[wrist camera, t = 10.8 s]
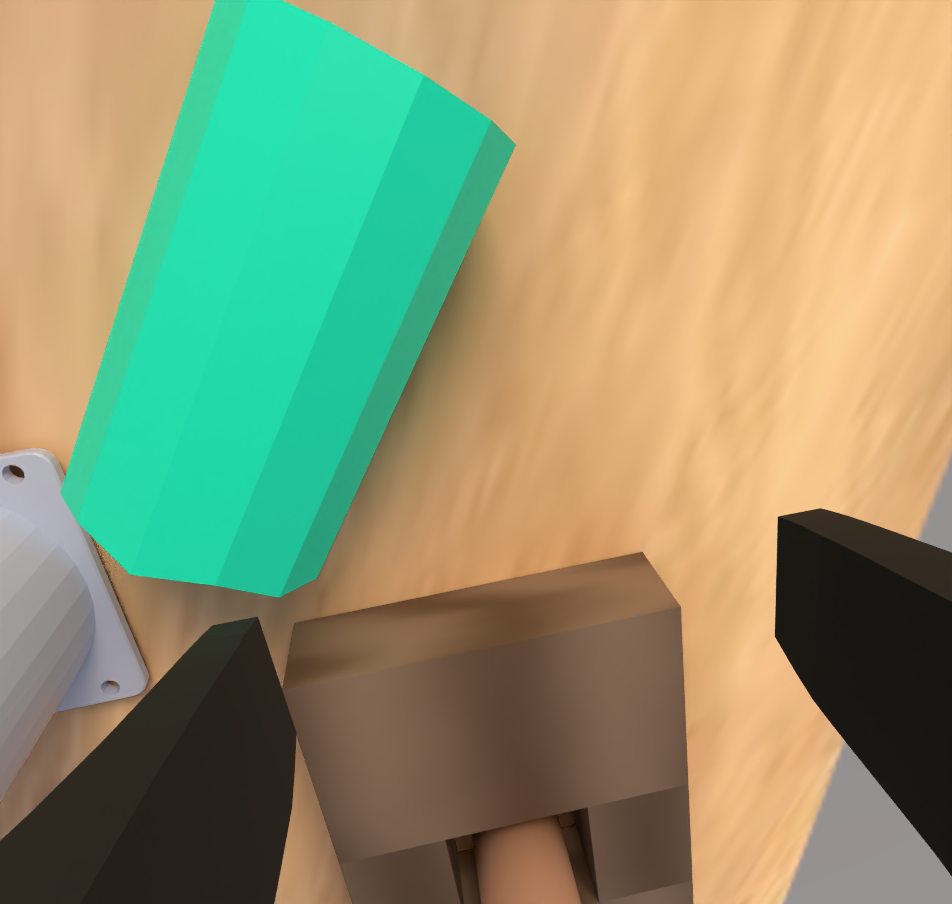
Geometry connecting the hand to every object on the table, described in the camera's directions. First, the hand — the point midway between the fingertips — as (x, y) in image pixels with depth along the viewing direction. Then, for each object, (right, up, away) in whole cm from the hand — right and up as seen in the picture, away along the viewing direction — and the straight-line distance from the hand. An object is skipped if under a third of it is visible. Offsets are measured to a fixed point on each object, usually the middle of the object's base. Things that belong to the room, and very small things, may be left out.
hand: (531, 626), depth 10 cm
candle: (-3, +10, +4) cm, 11 cm away
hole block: (0, -10, +15) cm, 18 cm away
